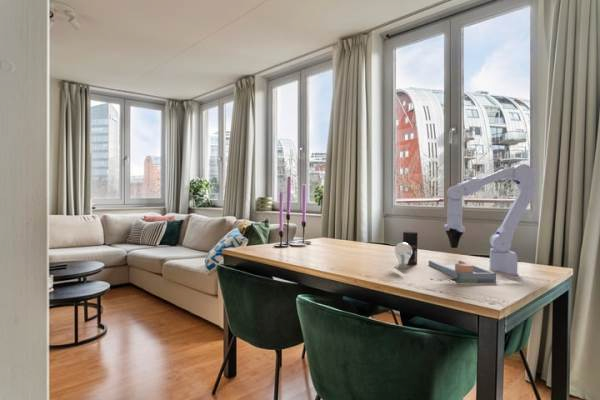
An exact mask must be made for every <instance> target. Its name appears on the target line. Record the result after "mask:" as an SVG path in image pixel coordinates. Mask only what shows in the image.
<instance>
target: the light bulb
mask: <svg viewBox="0 0 600 400" xmlns="http://www.w3.org/2000/svg"><path fill="white" fill-rule="evenodd" d="M394 255H395V256H396V258H397V261H398V262H397V263H398V265H399V266H398V268H399V269H401V270H407V269H408V265H407V264H408V261H409V258H410V257H411V255H412V248H411V246H410V245H409V244H408V243H406V242H403V241H402V242H398V243H397V244H396V246H395V248H394Z"/></svg>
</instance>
